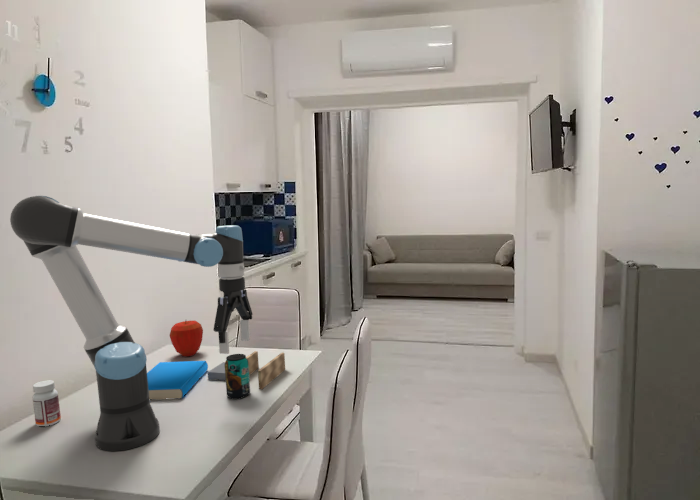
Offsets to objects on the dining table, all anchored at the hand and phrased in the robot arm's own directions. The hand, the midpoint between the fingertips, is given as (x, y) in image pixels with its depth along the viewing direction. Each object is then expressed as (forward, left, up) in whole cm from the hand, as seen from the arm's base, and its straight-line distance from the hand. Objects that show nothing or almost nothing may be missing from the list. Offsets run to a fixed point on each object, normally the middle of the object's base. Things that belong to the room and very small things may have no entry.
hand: (235, 346), depth 161 cm
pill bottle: (-29, +43, -15) cm, 54 cm away
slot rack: (+13, 0, -15) cm, 19 cm away
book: (+3, +26, -15) cm, 30 cm away
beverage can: (-2, -1, -15) cm, 15 cm away
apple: (+31, +38, -15) cm, 51 cm away
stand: (+14, +11, -15) cm, 23 cm away
